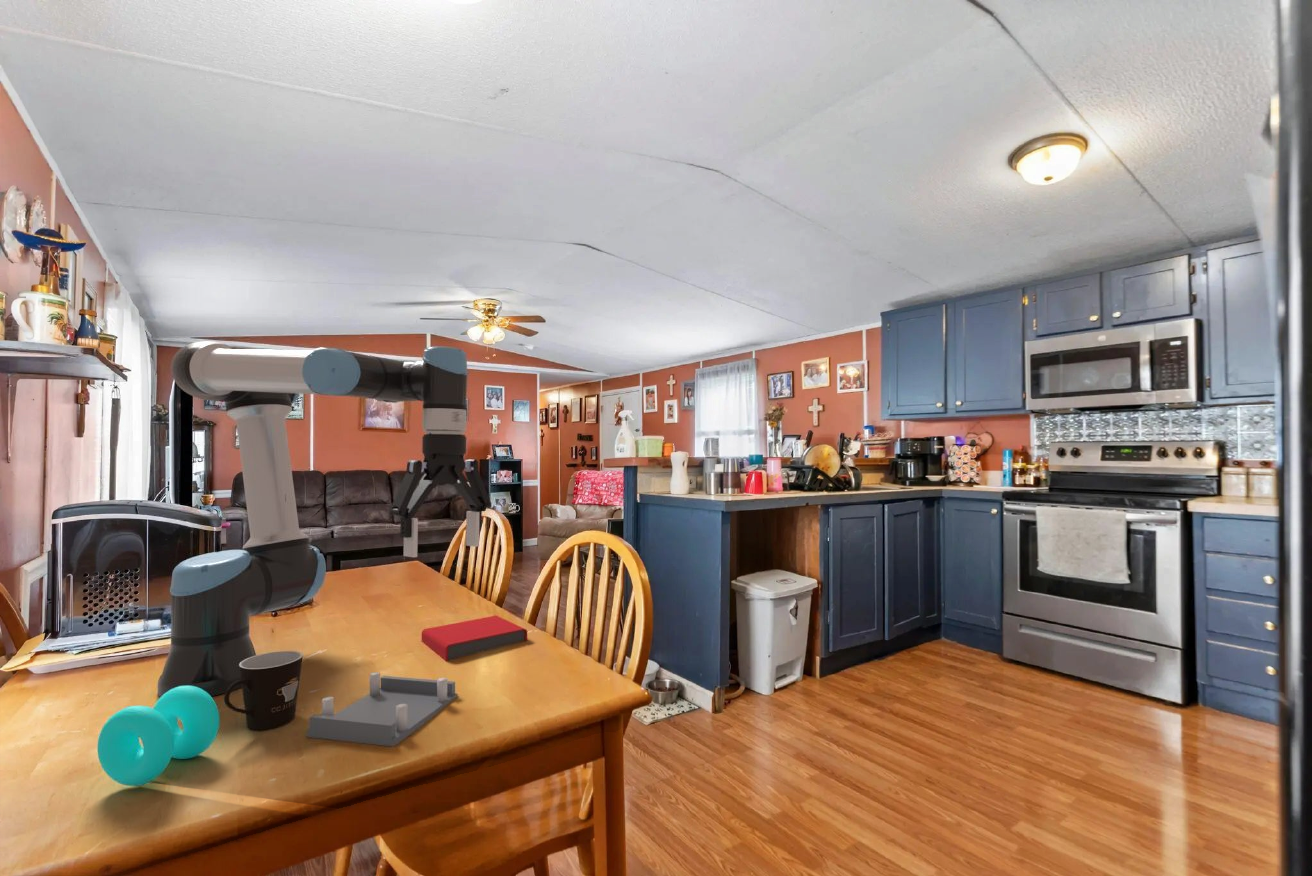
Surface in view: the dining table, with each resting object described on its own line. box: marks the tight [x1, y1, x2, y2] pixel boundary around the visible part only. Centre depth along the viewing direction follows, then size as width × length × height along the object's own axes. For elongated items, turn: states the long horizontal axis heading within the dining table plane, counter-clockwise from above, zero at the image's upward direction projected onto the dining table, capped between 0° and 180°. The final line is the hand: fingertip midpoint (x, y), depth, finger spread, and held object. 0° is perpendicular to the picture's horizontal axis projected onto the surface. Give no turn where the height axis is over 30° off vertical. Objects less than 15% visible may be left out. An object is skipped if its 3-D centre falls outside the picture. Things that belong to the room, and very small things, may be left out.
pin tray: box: [305, 671, 459, 748], centre depth 100 cm, size 15×17×4 cm
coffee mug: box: [223, 650, 304, 732], centre depth 97 cm, size 12×9×10 cm
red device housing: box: [421, 615, 528, 662], centre depth 133 cm, size 18×14×5 cm
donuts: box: [96, 686, 220, 787], centre depth 83 cm, size 10×10×10 cm
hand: (443, 551), depth 111 cm, fingers open, 13 cm apart
